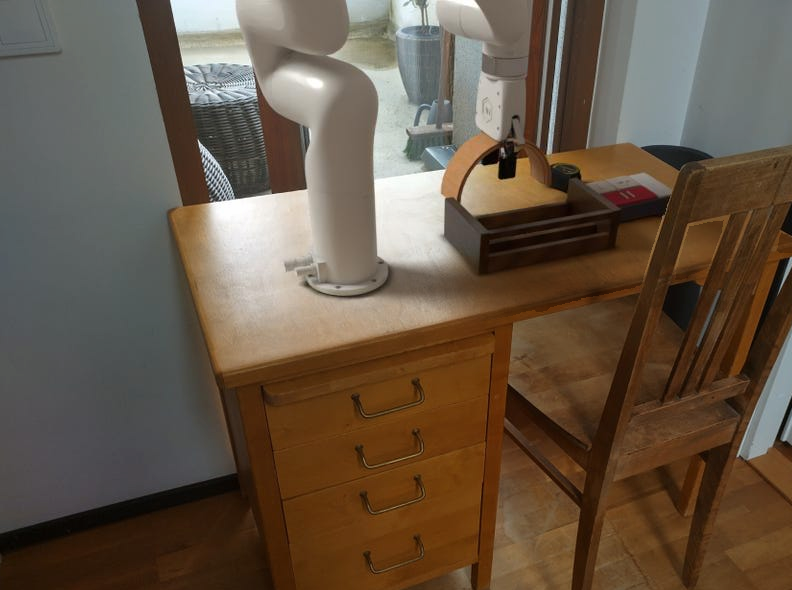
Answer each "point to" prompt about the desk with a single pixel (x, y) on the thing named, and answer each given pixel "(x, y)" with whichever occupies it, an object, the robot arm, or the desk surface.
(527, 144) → the arch
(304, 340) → the desk surface
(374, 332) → the desk surface
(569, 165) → the tape measure
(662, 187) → the plus minus keypad
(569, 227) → the rack
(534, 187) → the desk surface
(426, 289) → the desk surface
